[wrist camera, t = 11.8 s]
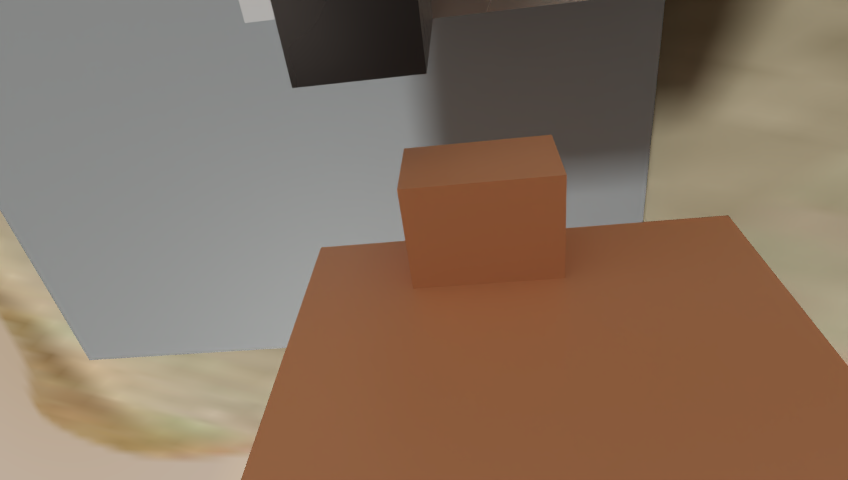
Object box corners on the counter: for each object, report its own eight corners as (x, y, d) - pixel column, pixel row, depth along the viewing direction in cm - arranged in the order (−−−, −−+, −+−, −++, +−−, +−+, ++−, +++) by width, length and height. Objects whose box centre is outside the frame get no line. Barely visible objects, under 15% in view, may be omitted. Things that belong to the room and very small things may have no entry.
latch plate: (674, -295, 10) (728, -333, 8) (623, 302, 17) (644, 356, 15) (-170, -157, 11) (-292, -163, 9) (106, 337, 18) (67, 390, 16)
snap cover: (747, 116, 7) (1131, 438, 3) (678, 473, 11) (809, 822, 7) (298, 158, 8) (128, 478, 4) (382, 483, 12) (345, 812, 8)
